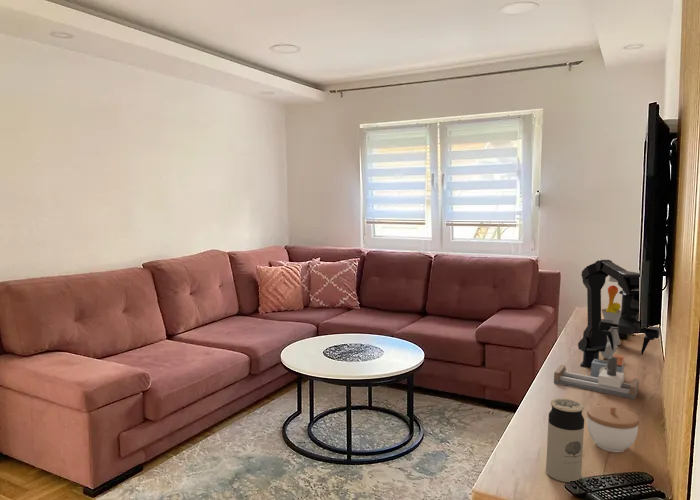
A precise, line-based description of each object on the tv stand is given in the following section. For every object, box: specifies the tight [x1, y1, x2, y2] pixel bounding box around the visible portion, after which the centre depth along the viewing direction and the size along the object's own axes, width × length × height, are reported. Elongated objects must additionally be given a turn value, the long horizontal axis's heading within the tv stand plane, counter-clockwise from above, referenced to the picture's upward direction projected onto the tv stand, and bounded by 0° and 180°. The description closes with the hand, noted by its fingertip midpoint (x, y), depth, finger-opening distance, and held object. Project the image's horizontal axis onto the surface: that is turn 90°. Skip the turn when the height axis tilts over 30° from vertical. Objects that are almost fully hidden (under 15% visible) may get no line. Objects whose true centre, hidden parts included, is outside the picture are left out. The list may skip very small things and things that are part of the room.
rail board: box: [553, 364, 640, 400], centre depth 187 cm, size 10×26×4 cm, turn 55°
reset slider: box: [613, 353, 625, 366], centre depth 192 cm, size 3×3×3 cm
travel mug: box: [545, 397, 585, 483], centre depth 127 cm, size 8×8×18 cm
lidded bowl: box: [586, 404, 640, 453], centre depth 142 cm, size 13×13×11 cm
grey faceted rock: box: [600, 342, 618, 360], centre depth 219 cm, size 6×7×7 cm
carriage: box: [598, 356, 625, 388], centre depth 183 cm, size 8×7×9 cm
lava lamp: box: [601, 275, 622, 346], centre depth 241 cm, size 9×9×35 cm
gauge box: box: [590, 358, 625, 378], centre depth 194 cm, size 6×10×6 cm, turn 55°
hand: (627, 352), depth 185 cm, fingers open, 9 cm apart
